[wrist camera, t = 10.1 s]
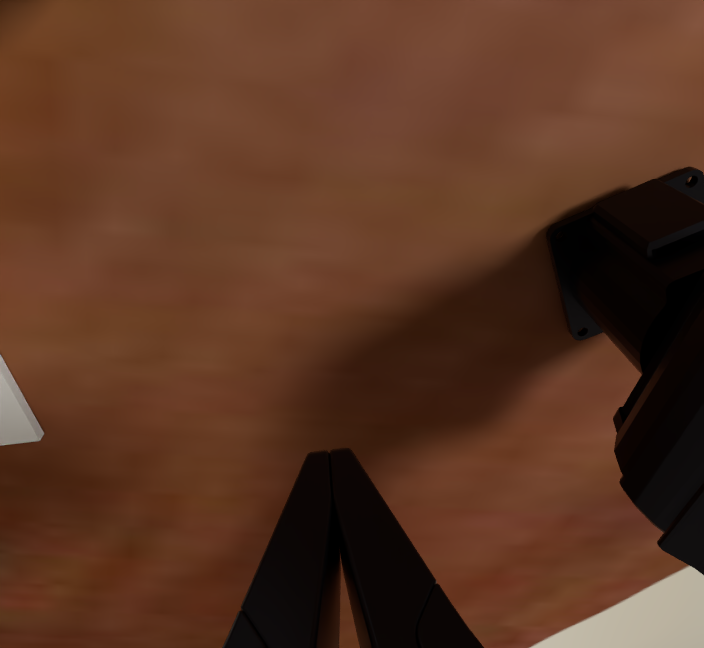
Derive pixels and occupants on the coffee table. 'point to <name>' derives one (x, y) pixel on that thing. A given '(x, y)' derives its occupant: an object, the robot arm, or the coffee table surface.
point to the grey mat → (15, 412)
